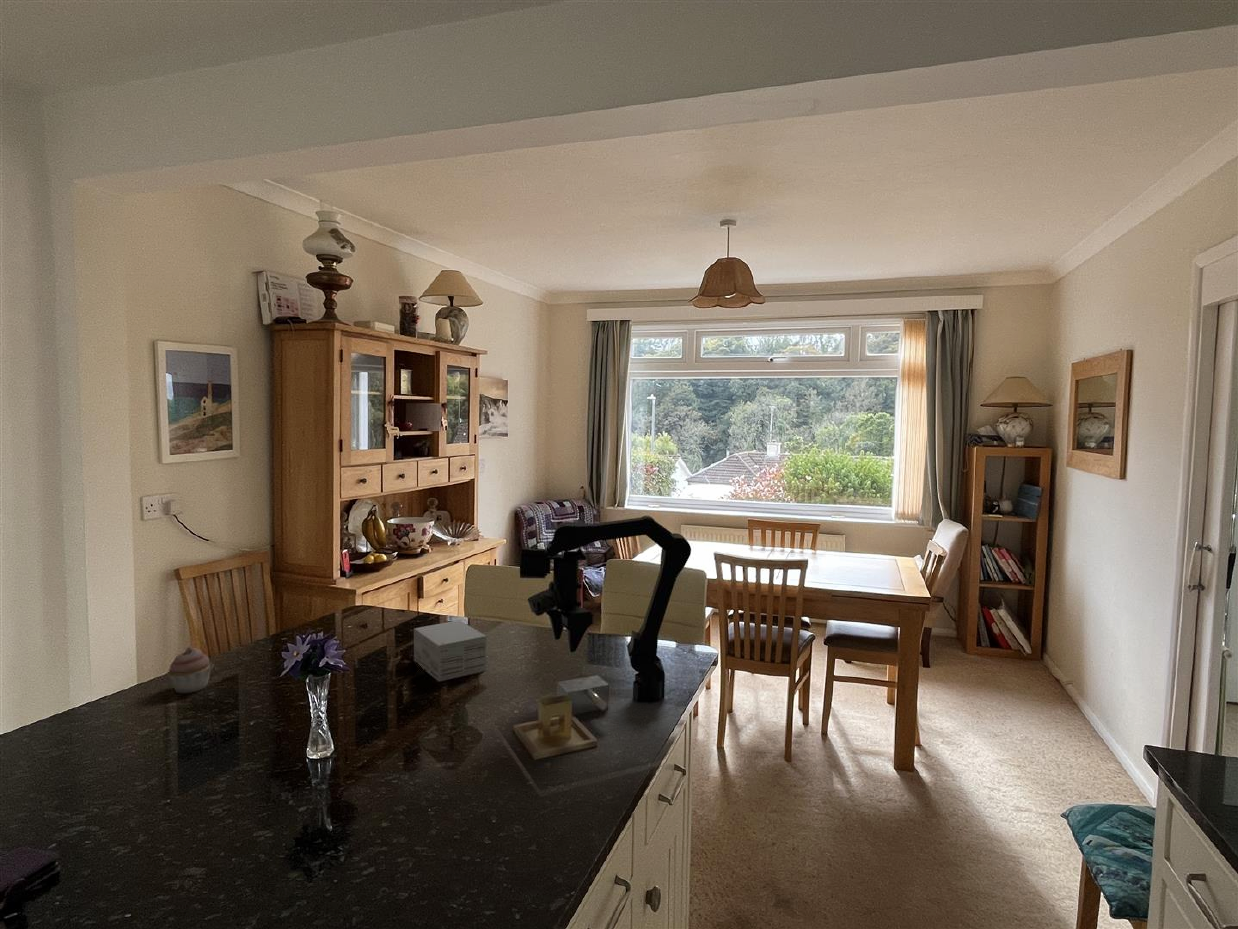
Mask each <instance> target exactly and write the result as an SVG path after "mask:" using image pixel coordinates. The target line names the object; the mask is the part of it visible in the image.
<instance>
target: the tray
mask: <svg viewBox="0 0 1238 929" xmlns="http://www.w3.org/2000/svg"><path fill="white" fill-rule="evenodd" d="M555 726H559V715H558V716H553V717H551V726H550V727H555ZM512 729H513V731H514V733H515V735H516V736H517V738H518V739H519V740H520V742H521V744H523V745H524V748H526V750H527V751H528V753H529V754H530V755H531V757H532V758H533V759H534V761H536V760H540V759H543V758H549V757H554V756H559V755H563V754H566V753H571V752H576V751H581V750H584V749H588V748H593V747H598V739H597V738H596V737H595V736H594V735H593V734H592V733H591V732H590V731H589V730H588V729H587V728H586V726H584V724H583V723H581V722H580V720H579V719H578V718H577V717H576V716H575V715H573V714H572V724H571V738H568V739H563V740H559V741H554V742H550V743H545V744H543V743H542V742H541V740H540V739H539V738H538V720H533V721H528V722H524V723H518V724H514V725H513V726H512Z"/></svg>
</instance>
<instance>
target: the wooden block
mask: <svg viewBox="0 0 1238 929" xmlns="http://www.w3.org/2000/svg"><path fill="white" fill-rule="evenodd" d="M537 706H538V708H537V712H538V713H537V721H538V738H539V739H540V740H541V742H542V743H543V744H545V743H550V742H554V741H559V740H563V739H568V738H571V724H572V700H571V699H570V698H569V697H568V696H567V695H563V696H558V697H557V696H554V697H553V696H552V697H549V698H542V699H538V702H537ZM558 716H559V726H555V727H550V726H551V718H553V717H558Z"/></svg>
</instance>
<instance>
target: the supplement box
mask: <svg viewBox="0 0 1238 929" xmlns="http://www.w3.org/2000/svg"><path fill="white" fill-rule="evenodd" d="M487 639H488V636H487V635H485V634H483V633H482V632H480V631H479V630H477V629H476V628H473V627H471V626H470V625H468V624H467V623H465V622H463V621H462V620H453V621H452V620H451V621H448V622H443V623H436V624H431V625H425V626H420V627H416V628H413V660H414V661H415V662H417V663H418V664H419V665H420V666H421V667H422V668H421V667H420V666H419V665H418V664H417V665H418V666H419V667H420V668H421V669H423V670H424V669H425V670H426V671H425V670H424V671H425V672H426V673H428V675H430V676H431V677H432V678H434V679H435V680H436V681H437V682H443V681H448V680H451V679H452V680H453V679H457V678H460V677H465V676H466V677H467V676H469V675H474V674H479V673H484V672H487V642H488V641H487ZM414 661H413V662H414ZM415 662H414V663H415Z"/></svg>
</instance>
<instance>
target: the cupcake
mask: <svg viewBox="0 0 1238 929" xmlns="http://www.w3.org/2000/svg"><path fill="white" fill-rule="evenodd" d="M213 667H214V663H211V662H210V659H209V657H208V655H206V654H205V653H203V652H202V651H201V649H198V648H195V647H190V646H188V647H187V648H186V649H185V651H183V652H181V653H180V654H177V656H176V657H175V658H174V659H173V662H171V664H170V666H169V669H168V671H167V672H166V675H167V676H168V677H169V678H170V679H171V682H172V686H173V688H174V690H175V692H176V693H177V694H178V693H179V694H190V693H191V694H192V693H196V692H199V691H202V690H204V689H205V688H206V687H207V686H208V684H209V683H208V682H209V679H210V675H211V672H212V671H213Z"/></svg>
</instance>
